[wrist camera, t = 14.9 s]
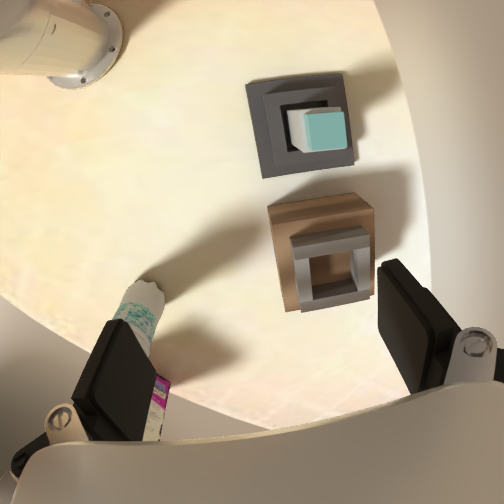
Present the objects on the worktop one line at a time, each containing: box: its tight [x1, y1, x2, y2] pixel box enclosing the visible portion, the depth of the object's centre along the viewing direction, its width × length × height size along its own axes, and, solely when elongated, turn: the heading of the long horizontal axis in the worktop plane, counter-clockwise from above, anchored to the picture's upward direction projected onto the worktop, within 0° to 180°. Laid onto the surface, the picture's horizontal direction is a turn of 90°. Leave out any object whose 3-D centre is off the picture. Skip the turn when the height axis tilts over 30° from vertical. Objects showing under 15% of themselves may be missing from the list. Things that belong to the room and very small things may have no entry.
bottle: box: [112, 280, 165, 359], centre depth 38 cm, size 7×7×20 cm
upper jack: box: [267, 193, 375, 313], centre depth 39 cm, size 12×12×10 cm
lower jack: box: [245, 74, 354, 179], centre depth 35 cm, size 12×12×4 cm
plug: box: [285, 107, 347, 153], centre depth 31 cm, size 4×4×12 cm
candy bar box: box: [142, 374, 171, 441], centre depth 47 cm, size 11×5×16 cm, turn 44°
